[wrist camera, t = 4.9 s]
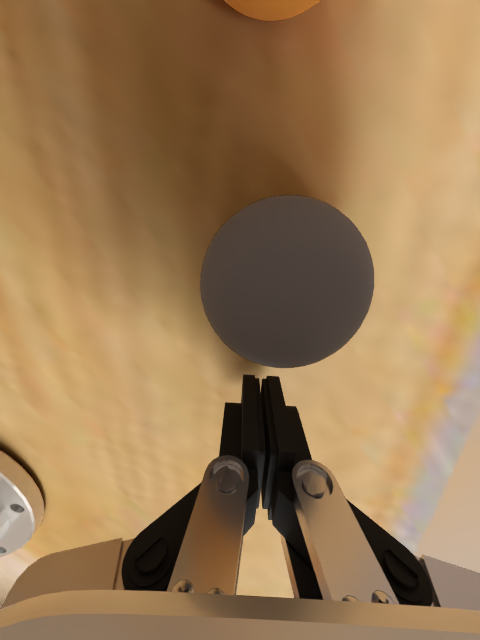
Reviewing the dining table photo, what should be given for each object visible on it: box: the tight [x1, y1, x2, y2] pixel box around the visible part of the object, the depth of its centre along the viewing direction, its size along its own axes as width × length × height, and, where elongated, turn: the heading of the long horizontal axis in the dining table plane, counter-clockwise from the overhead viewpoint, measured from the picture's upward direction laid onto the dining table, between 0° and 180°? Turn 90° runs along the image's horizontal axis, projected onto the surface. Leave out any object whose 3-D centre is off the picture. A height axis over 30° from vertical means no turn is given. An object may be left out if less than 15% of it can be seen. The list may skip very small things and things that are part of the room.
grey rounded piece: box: [200, 195, 374, 368], centre depth 8 cm, size 6×6×6 cm
